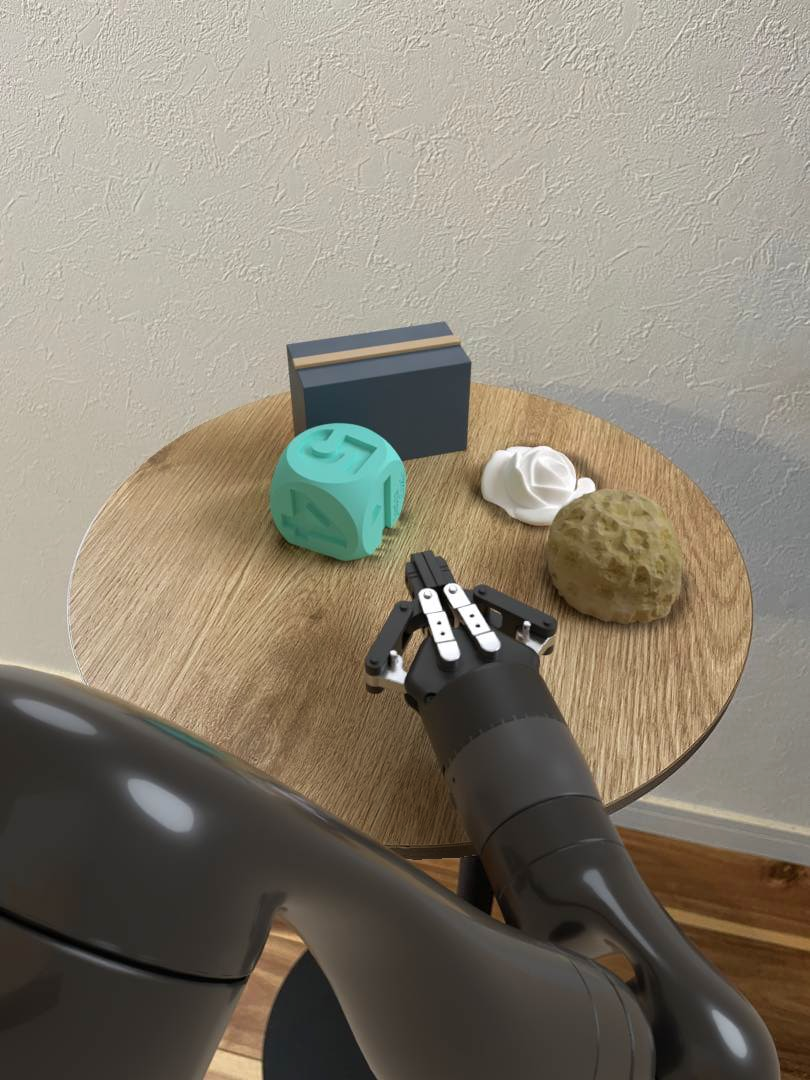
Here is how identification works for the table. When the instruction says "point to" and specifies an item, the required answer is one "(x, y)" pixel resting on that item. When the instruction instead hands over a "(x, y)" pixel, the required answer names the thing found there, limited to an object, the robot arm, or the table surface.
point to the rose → (532, 483)
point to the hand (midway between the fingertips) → (420, 561)
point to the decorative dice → (337, 490)
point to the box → (386, 387)
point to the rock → (615, 556)
